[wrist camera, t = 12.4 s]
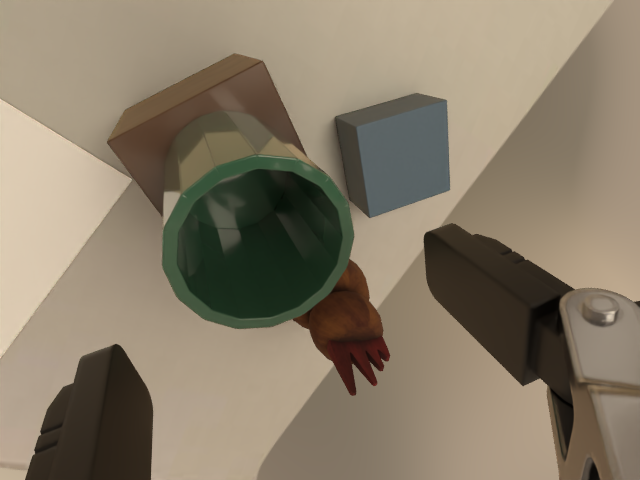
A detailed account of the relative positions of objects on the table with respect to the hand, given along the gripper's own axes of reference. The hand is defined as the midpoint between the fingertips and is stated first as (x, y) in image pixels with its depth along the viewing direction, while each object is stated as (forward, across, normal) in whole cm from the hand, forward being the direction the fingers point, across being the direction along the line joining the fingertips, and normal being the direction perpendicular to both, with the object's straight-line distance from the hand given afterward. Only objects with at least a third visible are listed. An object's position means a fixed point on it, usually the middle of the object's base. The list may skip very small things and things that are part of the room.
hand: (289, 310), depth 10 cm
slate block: (+21, -12, +5) cm, 25 cm away
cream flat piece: (+21, +20, -1) cm, 29 cm away
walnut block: (+21, 0, 0) cm, 21 cm away
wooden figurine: (+21, -4, +12) cm, 25 cm away
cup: (+12, 0, 0) cm, 12 cm away
